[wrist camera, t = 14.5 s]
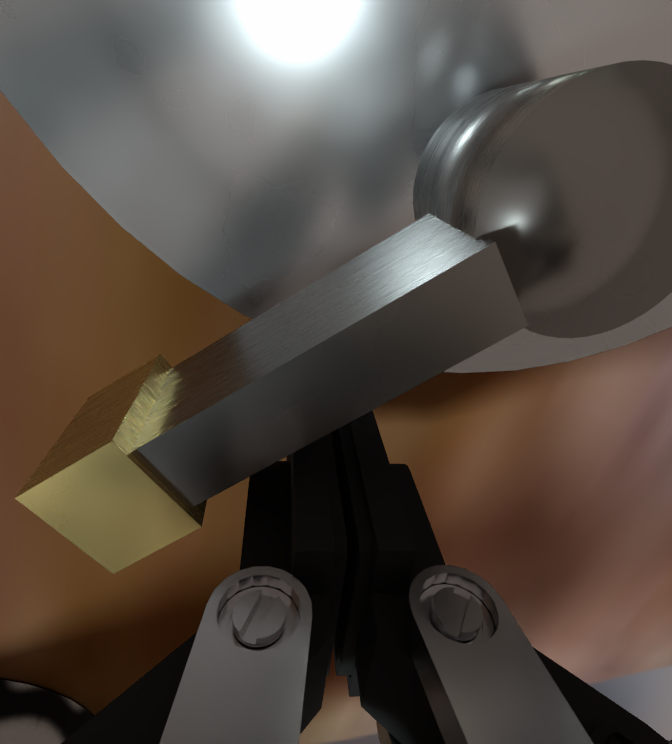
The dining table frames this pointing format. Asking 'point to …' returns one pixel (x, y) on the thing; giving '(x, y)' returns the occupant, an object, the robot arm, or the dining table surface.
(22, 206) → the dining table surface
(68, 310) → the dining table surface
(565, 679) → the robot arm
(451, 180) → the metal scoop
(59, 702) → the spotted tube
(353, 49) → the tribrach plate
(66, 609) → the dining table surface
